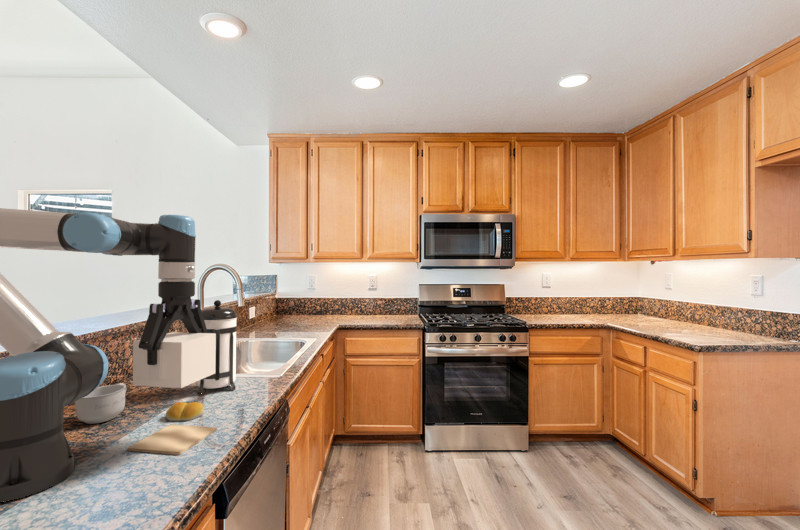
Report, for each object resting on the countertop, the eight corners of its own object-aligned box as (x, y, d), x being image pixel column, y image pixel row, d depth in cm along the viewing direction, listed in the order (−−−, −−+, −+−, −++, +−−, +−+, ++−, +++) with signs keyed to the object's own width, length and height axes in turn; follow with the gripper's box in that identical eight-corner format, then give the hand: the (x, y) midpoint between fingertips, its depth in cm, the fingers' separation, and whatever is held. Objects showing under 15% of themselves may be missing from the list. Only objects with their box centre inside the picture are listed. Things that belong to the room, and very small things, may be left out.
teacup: (97, 429, 95) (97, 397, 95) (62, 425, 97) (63, 394, 97) (144, 409, 109) (145, 381, 109) (113, 406, 111) (114, 379, 111)
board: (179, 454, 82) (180, 452, 82) (127, 450, 84) (127, 447, 84) (217, 429, 95) (217, 427, 95) (170, 426, 97) (170, 424, 97)
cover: (181, 388, 83) (181, 342, 83) (132, 385, 85) (133, 340, 85) (215, 373, 95) (215, 333, 95) (172, 371, 97) (172, 332, 97)
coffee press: (178, 392, 124) (179, 301, 124) (218, 379, 138) (219, 298, 139) (216, 400, 117) (218, 303, 117) (255, 385, 132) (256, 299, 132)
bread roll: (198, 421, 101) (198, 406, 101) (162, 423, 100) (162, 408, 100) (208, 409, 109) (208, 396, 109) (175, 411, 108) (175, 397, 108)
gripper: (150, 282, 78) (149, 387, 77) (222, 279, 102) (221, 359, 101) (118, 281, 79) (117, 385, 78) (196, 279, 103) (196, 358, 102)
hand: (176, 371), depth 90 cm, fingers closed on cover, 12 cm apart
